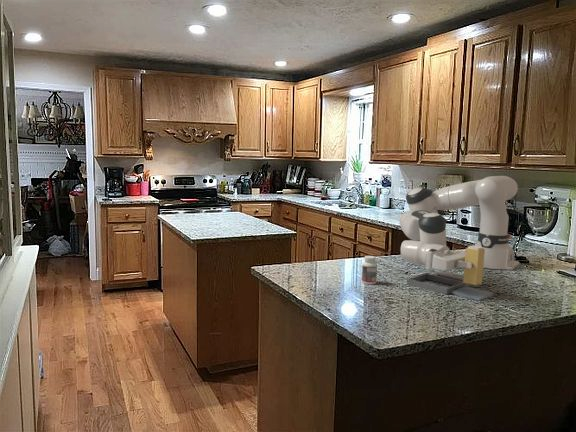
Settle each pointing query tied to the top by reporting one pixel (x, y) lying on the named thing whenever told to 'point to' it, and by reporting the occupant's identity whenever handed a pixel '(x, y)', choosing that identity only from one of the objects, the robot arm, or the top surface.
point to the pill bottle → (369, 270)
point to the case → (439, 277)
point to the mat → (472, 293)
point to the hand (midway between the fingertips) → (476, 264)
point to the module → (474, 265)
